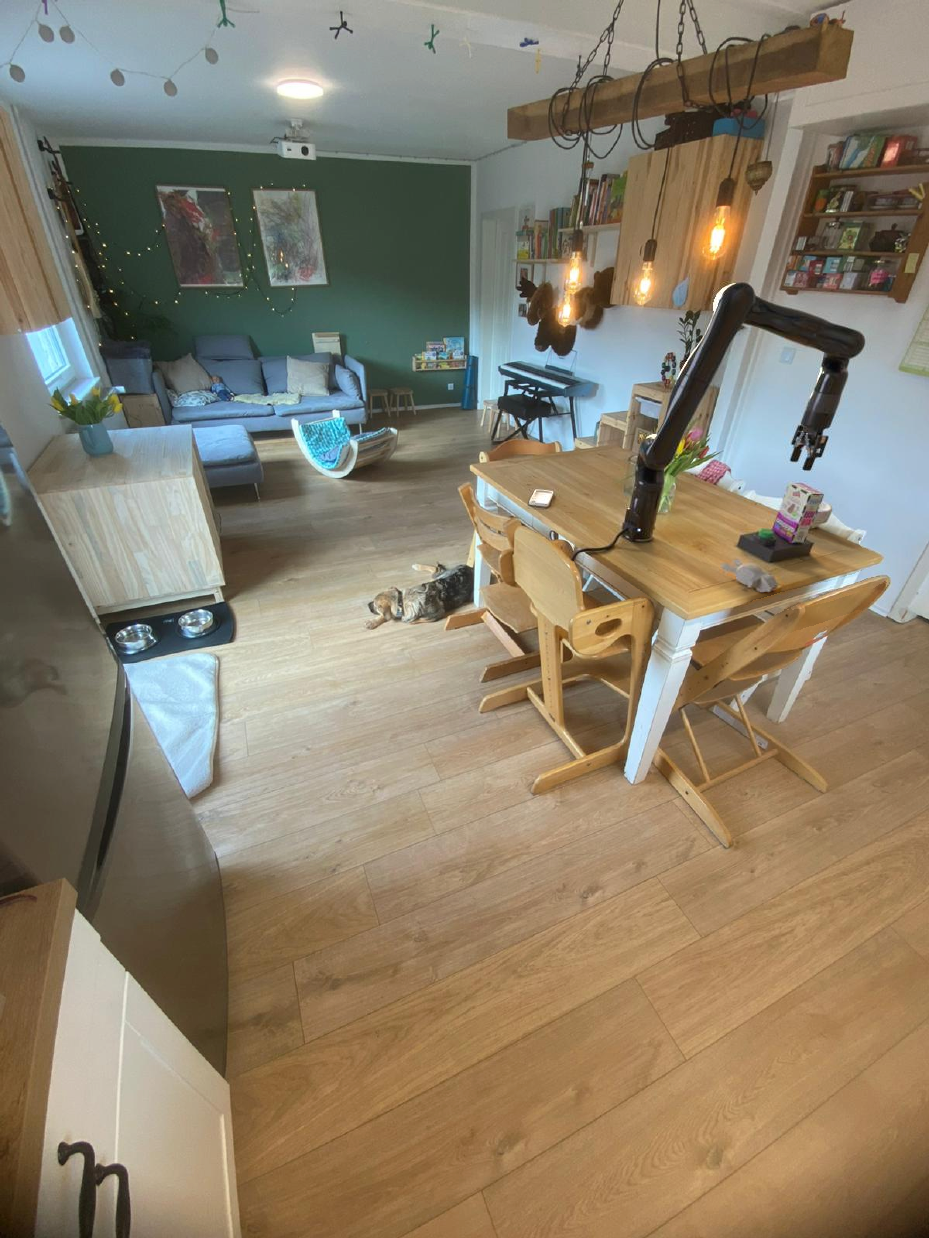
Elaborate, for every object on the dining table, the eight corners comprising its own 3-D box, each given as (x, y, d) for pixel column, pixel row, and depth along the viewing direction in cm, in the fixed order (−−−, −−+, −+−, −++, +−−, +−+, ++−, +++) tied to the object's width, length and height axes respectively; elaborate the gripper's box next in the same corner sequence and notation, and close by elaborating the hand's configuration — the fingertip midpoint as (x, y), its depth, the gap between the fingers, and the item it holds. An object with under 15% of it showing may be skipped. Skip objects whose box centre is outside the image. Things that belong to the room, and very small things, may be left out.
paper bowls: (796, 533, 187) (804, 511, 182) (769, 516, 199) (776, 496, 195) (834, 531, 189) (843, 510, 185) (805, 515, 202) (813, 495, 197)
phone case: (547, 507, 202) (553, 494, 214) (548, 503, 201) (553, 491, 214) (528, 504, 204) (535, 492, 216) (529, 501, 203) (535, 489, 215)
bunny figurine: (768, 585, 145) (721, 559, 155) (760, 600, 149) (715, 573, 158) (786, 577, 150) (740, 551, 159) (778, 591, 153) (733, 566, 162)
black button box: (767, 562, 166) (774, 545, 163) (735, 546, 176) (741, 529, 173) (809, 554, 173) (816, 537, 169) (775, 538, 183) (782, 522, 179)
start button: (765, 540, 167) (767, 534, 166) (755, 535, 170) (757, 529, 169) (774, 538, 169) (776, 532, 167) (764, 533, 172) (766, 527, 171)
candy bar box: (805, 543, 170) (825, 494, 161) (790, 544, 169) (810, 494, 160) (784, 529, 179) (802, 482, 170) (770, 529, 178) (788, 482, 170)
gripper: (796, 403, 156) (777, 458, 165) (819, 414, 144) (797, 472, 153) (822, 404, 156) (801, 459, 165) (847, 415, 144) (824, 474, 153)
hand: (799, 465), depth 159 cm, fingers open, 8 cm apart
